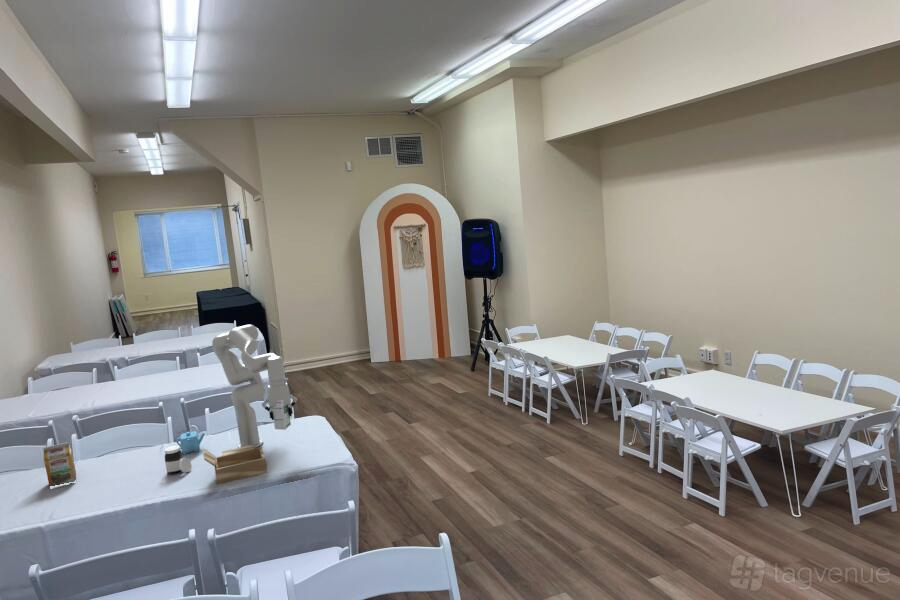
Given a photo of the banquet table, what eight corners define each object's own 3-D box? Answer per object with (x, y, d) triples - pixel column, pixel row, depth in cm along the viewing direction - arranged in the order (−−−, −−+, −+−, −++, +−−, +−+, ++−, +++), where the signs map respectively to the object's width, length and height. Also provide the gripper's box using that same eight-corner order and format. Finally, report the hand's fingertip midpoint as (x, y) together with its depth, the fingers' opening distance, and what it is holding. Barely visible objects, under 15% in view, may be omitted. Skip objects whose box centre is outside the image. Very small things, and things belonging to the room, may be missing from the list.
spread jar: (169, 468, 316) (165, 445, 314) (193, 464, 318) (190, 441, 316) (165, 478, 304) (161, 455, 302) (190, 473, 307) (186, 450, 305)
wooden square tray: (215, 467, 312) (213, 453, 311) (262, 456, 320) (260, 443, 319) (217, 484, 292) (214, 469, 291) (267, 472, 300) (265, 458, 299)
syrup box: (285, 429, 308) (282, 400, 305) (274, 429, 309) (270, 400, 306) (291, 425, 313) (287, 396, 310) (279, 424, 314) (276, 396, 311)
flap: (215, 456, 305) (214, 457, 305) (204, 448, 302) (203, 449, 302) (216, 466, 292) (216, 467, 292) (204, 458, 290) (203, 459, 290)
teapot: (178, 447, 342) (175, 429, 341) (206, 441, 347) (203, 424, 346) (177, 459, 326) (174, 440, 324) (207, 453, 331) (204, 434, 329)
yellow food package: (50, 489, 303) (42, 451, 300) (51, 481, 313) (44, 444, 309) (75, 483, 308) (68, 445, 305) (76, 475, 317) (69, 438, 314)
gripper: (294, 377, 313) (298, 411, 316) (257, 383, 307) (261, 418, 310) (297, 381, 306) (301, 416, 310) (259, 387, 300) (263, 423, 303)
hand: (281, 417), depth 310 cm, fingers closed on syrup box, 7 cm apart
